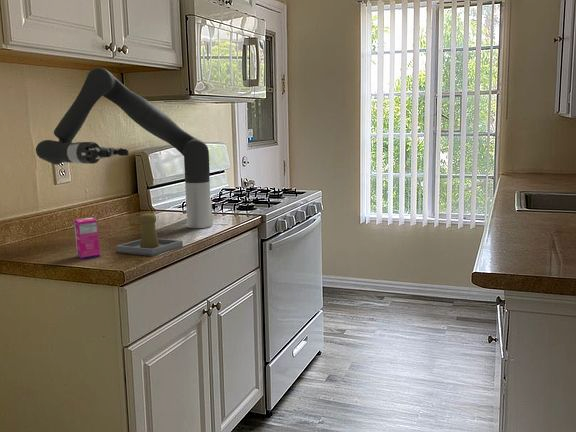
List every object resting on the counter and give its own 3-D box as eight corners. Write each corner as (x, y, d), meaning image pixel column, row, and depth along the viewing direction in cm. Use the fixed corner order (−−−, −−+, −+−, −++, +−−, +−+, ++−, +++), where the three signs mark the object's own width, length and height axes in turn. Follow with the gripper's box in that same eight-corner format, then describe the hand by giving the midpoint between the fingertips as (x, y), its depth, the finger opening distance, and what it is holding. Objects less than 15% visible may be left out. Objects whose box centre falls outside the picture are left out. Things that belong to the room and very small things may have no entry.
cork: (151, 245, 194) (149, 211, 192) (163, 247, 190) (161, 213, 188) (136, 248, 189) (133, 214, 187) (147, 250, 185) (145, 215, 184)
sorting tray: (148, 243, 199) (147, 237, 199) (182, 246, 192) (182, 240, 192) (116, 252, 187) (116, 245, 186) (152, 256, 180) (152, 249, 179)
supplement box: (76, 256, 182) (73, 219, 181) (96, 253, 185) (93, 217, 184) (80, 259, 177) (77, 221, 176) (100, 256, 181) (98, 219, 179)
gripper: (66, 142, 201) (102, 142, 193) (98, 141, 213) (132, 141, 206) (68, 165, 202) (103, 165, 194) (100, 162, 214) (134, 162, 207)
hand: (118, 153), depth 200 cm, fingers open, 8 cm apart
